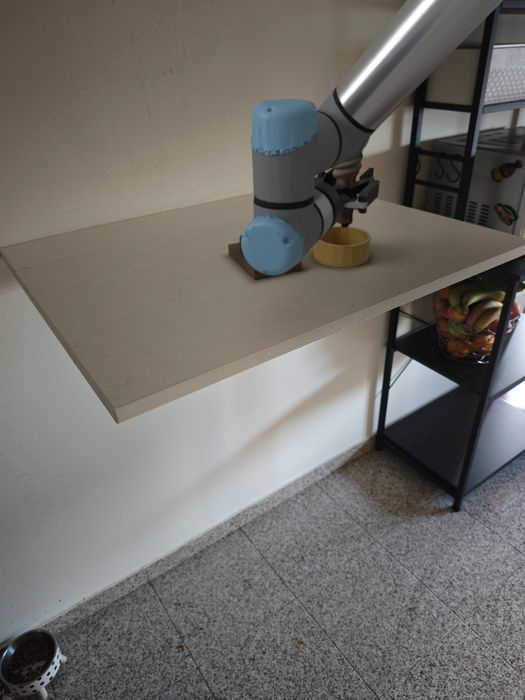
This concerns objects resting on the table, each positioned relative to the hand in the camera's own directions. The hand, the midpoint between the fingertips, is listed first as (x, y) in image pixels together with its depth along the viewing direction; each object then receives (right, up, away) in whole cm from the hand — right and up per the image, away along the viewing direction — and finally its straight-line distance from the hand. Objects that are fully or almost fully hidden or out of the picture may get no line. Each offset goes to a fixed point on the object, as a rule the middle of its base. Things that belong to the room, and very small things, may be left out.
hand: (354, 174), depth 89 cm
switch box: (-16, -16, +2) cm, 23 cm away
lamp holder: (-2, -14, +4) cm, 15 cm away
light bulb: (-2, -9, +1) cm, 10 cm away
